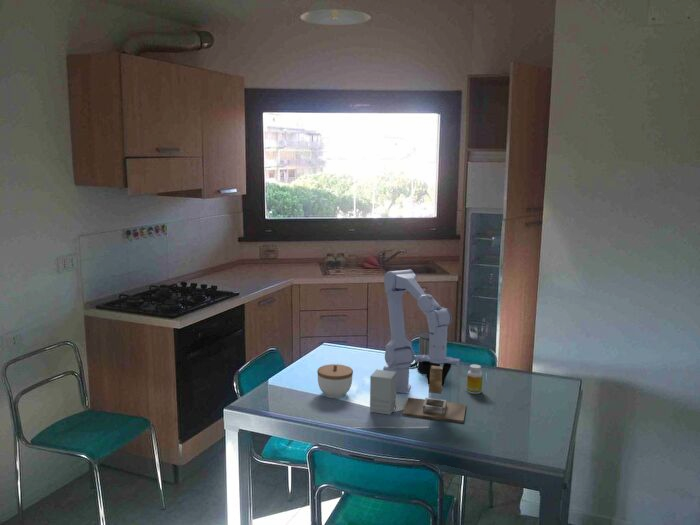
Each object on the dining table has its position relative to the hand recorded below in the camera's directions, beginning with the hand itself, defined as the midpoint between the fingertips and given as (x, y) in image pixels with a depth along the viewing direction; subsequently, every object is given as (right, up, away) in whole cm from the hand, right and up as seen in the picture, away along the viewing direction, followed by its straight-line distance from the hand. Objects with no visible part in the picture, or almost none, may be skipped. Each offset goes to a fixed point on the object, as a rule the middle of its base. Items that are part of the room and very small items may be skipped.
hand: (435, 384), depth 203 cm
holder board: (0, -9, +2) cm, 9 cm away
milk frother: (0, -3, +43) cm, 43 cm away
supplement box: (-18, -9, +2) cm, 20 cm away
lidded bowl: (-34, -7, +14) cm, 37 cm away
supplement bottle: (+17, -7, +20) cm, 27 cm away
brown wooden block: (0, -2, 0) cm, 2 cm away
